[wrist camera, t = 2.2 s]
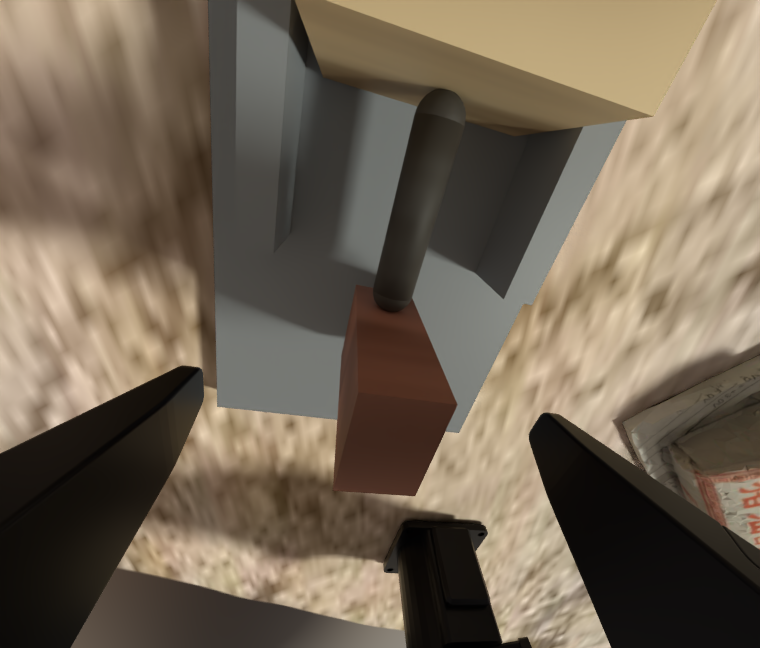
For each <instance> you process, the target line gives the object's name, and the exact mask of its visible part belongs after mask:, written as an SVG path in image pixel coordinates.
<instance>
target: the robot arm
mask: <svg viewBox="0 0 760 648" xmlns="http://www.w3.org/2000/svg"><path fill="white" fill-rule="evenodd" d="M203 398H204V385H203V372H202V369H201V368H199V367H192V366H180V367H177V368H175V369H173V370H171V371H169V372H167V373H165V374H163V375H161V376H159V377H157V378H155V379H152V380H150V381H148V382H146V383H144V384H142V385H140V386H138V387H136V388H134V389H132V390H130V391H128V392H126V393H124V394H122V395H120V396H118V397H115V398H113V399H111V400H109V401H107V402H105V403H103V404H101V405H99V406H97V407H95V408H93V409H91V410H89V411H87V412H85V413H83V414H81V415H78V416H76V417H74V418H72V419H70V420H68V421H66V422H64V423H62V424H60V425H58V426H56V427H54V428H52V429H50V430H48V431H46V432H43V433H41V434H39V435H37V436H35V437H33V438H31V439H29V440H27V441H25V442H23V443H21V444H19V445H17V446H15V447H13V448H11V449H9V450H6V451H4V452H2V453H0V648H71V646H72V644H73V642H74V641H75V639H76V637H77V635H78V634H79V632H80V630H81V628H82V627H83V625H84V623H85V622H86V619H87V618H88V616H89V615H90V613H91V611H92V609H93V608H94V606H95V604H96V602H97V601H98V599H99V597H100V595H101V594H102V592H103V590H104V589H105V587H106V585H107V583H108V582H109V580H110V578H111V576H112V575H113V573H114V571H115V569H116V568H117V566H118V564H119V562H120V561H121V559H122V557H123V556H124V554H125V552H126V550H127V549H128V547H129V545H130V543H131V542H132V540H133V538H134V536H135V535H136V533H137V531H138V529H139V528H140V526H141V524H142V523H143V521H144V519H145V517H146V516H147V514H148V512H149V510H150V509H151V507H152V505H153V503H154V502H155V500H156V498H157V496H158V495H159V493H160V491H161V490H162V488H163V486H164V484H165V483H166V481H167V479H168V477H169V475H170V474H171V472H172V470H173V468H174V466H175V464H176V462H177V460H178V458H179V455H180V453H181V451H182V449H183V446H184V444H185V442H186V439H187V437H188V435H189V433H190V430H191V428H192V426H193V424H194V421H195V419H196V417H197V414H198V412H199V410H200V408H201V405H202V402H203ZM529 442H530V445H531V448H532V451H533V454H534V457H535V460H536V463H537V466H538V469H539V473H540V476H541V479H542V482H543V485H544V488H545V491H546V493H547V496H548V499H549V501H550V504H551V506H552V508H553V511H554V513H555V515H556V518H557V520H558V523H559V525H560V527H561V530H562V532H563V534H564V537H565V539H566V541H567V544H568V546H569V549H570V551H571V553H572V556H573V558H574V560H575V563H576V565H577V568H578V570H579V572H580V575H581V577H582V579H583V582H584V584H585V586H586V589H587V591H588V594H589V596H590V598H591V601H592V603H593V605H594V608H595V610H596V612H597V615H598V617H599V620H600V622H601V624H602V627H603V629H604V631H605V634H606V636H607V638H608V641H609V643H610V646H611V648H760V549H758V548H757V547H755V546H754V545H752V544H751V543H749V542H748V541H746V540H745V539H743V538H742V537H740V536H739V535H737V534H736V533H734V532H733V531H731V530H730V529H728V528H727V527H725V526H723V525H721V524H720V523H719V522H718V521H716V520H715V519H713V518H712V517H710V516H709V515H707V514H706V513H704V512H703V511H702V510H700V509H699V508H697V507H696V506H694V505H693V504H691V503H690V502H688V501H687V500H685V499H684V498H682V497H681V496H679V495H678V494H676V493H675V492H673V491H672V490H670V489H669V488H667V487H666V486H664V485H663V484H662V483H660V482H659V481H657V480H656V479H654V478H653V477H651V476H650V475H648V474H647V473H645V472H644V471H642V470H641V469H639V468H638V467H636V466H635V465H633V464H632V463H630V462H629V461H627V460H626V459H624V458H623V457H621V456H620V455H619V454H617V453H616V452H614V451H613V450H611V449H610V448H608V447H607V446H605V445H604V444H602V443H601V442H599V441H598V440H596V439H595V438H593V437H592V436H590V435H589V434H587V433H586V432H584V431H583V430H581V429H580V428H578V427H577V426H576V425H574V424H573V423H571V422H570V421H568V420H567V419H565V418H564V417H562V416H561V415H559V414H554V413H543V414H541V415H540V417H539V418H538V420H537V421H536V423H535V425H534V426H533V428H532V429H531V431H530V433H529ZM487 534H488V532H487V529H486V527H485V526H484V525H476V524H457V523H437V522H418V521H407V522H404V523H403V524H402V525H401V527H400V529H399V532H398V534H397V536H396V538H395V540H394V542H393V544H392V547H391V549H390V551H389V553H388V555H387V557H386V559H385V562H384V564H383V567H384V572H386V573H398V574H399V583H400V593H401V602H402V611H403V620H404V629H405V639H406V647H407V648H532V647H531V645H530V642H529V640H528V638H527V637H523V638H518V641H514V642H508V643H503V644H501V643H502V639H501V636H500V632H499V629H498V626H497V623H496V620H495V616H494V613H493V610H492V607H491V603H490V597H489V594H488V591H487V587H486V584H485V581H484V578H483V574H482V571H481V568H480V565H479V562H478V558H477V555H476V552H475V551H476V550H477V548H478V547H479V546H480V544H481V543H482V541H483V540H484V539H485V537H486V536H487Z"/></svg>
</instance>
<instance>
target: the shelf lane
mask: <svg viewBox="0 0 760 648" xmlns="http://www.w3.org/2000/svg"><path fill="white" fill-rule="evenodd" d="M208 20H209V64H210V107H211V150H212V194H213V237H214V280H215V323H216V367H217V407H225V408H234V409H244V410H253V411H262V412H271V413H280V414H290V415H299V416H308V417H317V418H326V419H335V420H337V417H338V401H339V385H340V369H341V355H342V350H343V345H344V340H345V335H346V331H347V326H348V321H349V316H350V311H351V307H352V302H353V297H354V292H355V287H356V285H361V286H366V287H371V288H373V287H374V283H375V278H376V274H377V270H378V266H379V262H380V257H381V253H382V249H383V245H384V241H385V236H386V232H387V228H388V224H389V219H390V215H391V211H392V207H393V203H394V198H395V194H396V190H397V186H398V182H399V177H400V173H401V169H402V165H403V161H404V156H405V152H406V148H407V144H408V140H409V135H410V131H411V127H412V123H413V119H414V114H415V111H416V108H417V106H414V105H411V104H408V103H405V102H401V101H398V100H395V99H392V98H388V97H385V96H382V95H379V94H375V93H372V92H369V91H366V90H362V89H359V88H356V87H353V86H349V85H346V84H343V83H340V82H336V81H333V80H330V79H327V78H323V76H322V73H321V70H320V67H319V65H318V62H317V59H316V57H315V54H314V51H313V48H312V46H311V43H310V40H309V38H308V35H307V32H306V29H305V27H304V24H303V21H302V19H301V16H300V13H299V10H298V8H297V5H296V2H295V0H208ZM625 122H626V120H625V121H618V122H611V123H604V124H597V125H590V126H583V127H577V128H570V129H563V130H556V131H549V132H542V133H535V134H528V135H521V136H512V135H508V134H505V133H502V132H499V131H495V130H492V129H489V128H486V127H482V126H479V125H476V124H473V123H469V122H466V121H465V126H464V130H463V133H462V136H461V140H460V143H459V146H458V149H457V153H456V156H455V159H454V162H453V166H452V169H451V172H450V176H449V179H448V182H447V185H446V189H445V192H444V195H443V198H442V202H441V205H440V208H439V211H438V215H437V218H436V221H435V224H434V228H433V231H432V234H431V237H430V241H429V244H428V247H427V250H426V254H425V257H424V260H423V264H422V267H421V270H420V273H419V277H418V280H417V283H416V286H415V290H414V293H413V296H412V299H413V301H414V303H415V306H416V308H417V310H418V313H419V315H420V317H421V320H422V322H423V324H424V327H425V329H426V331H427V334H428V336H429V339H430V341H431V343H432V346H433V348H434V350H435V353H436V355H437V357H438V360H439V362H440V364H441V367H442V369H443V371H444V374H445V376H446V379H447V381H448V383H449V386H450V388H451V390H452V393H453V395H454V397H455V400H456V402H457V404H458V405H457V407H456V410H455V412H454V414H453V416H452V418H451V420H450V422H449V425H448V427H447V429H446V432H455V433H459V431H460V429H461V427H462V425H463V423H464V421H465V419H466V417H467V415H468V413H469V411H470V409H471V407H472V405H473V403H474V401H475V399H476V397H477V395H478V393H479V391H480V389H481V387H482V385H483V383H484V381H485V379H486V377H487V375H488V373H489V371H490V369H491V367H492V365H493V363H494V361H495V359H496V357H497V355H498V353H499V351H500V349H501V347H502V345H503V343H504V341H505V339H506V337H507V335H508V333H509V331H510V329H511V327H512V325H513V323H514V321H515V319H516V317H517V315H518V313H519V311H520V309H521V307H522V305H523V304H528V305H532V304H533V302H534V300H535V298H536V296H537V294H538V292H539V290H540V288H541V286H542V284H543V282H544V280H545V278H546V276H547V274H548V272H549V270H550V268H551V267H552V265H553V263H554V261H555V259H556V257H557V255H558V253H559V251H560V249H561V247H562V245H563V243H564V241H565V239H566V237H567V235H568V233H569V231H570V230H571V228H572V226H573V224H574V222H575V220H576V218H577V216H578V214H579V212H580V210H581V208H582V206H583V204H584V202H585V200H586V198H587V196H588V194H589V193H590V191H591V189H592V187H593V185H594V183H595V181H596V179H597V177H598V175H599V173H600V171H601V169H602V167H603V165H604V163H605V161H606V159H607V157H608V156H609V154H610V152H611V150H612V148H613V146H614V144H615V142H616V140H617V138H618V136H619V134H620V132H621V130H622V128H623V126H624V124H625Z"/></svg>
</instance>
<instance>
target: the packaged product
mask: <svg viewBox="0 0 760 648" xmlns="http://www.w3.org/2000/svg"><path fill="white" fill-rule="evenodd" d="M622 423H623V426H624V428H625V431H626V433H627V436H628V438H629V440H630V442H631V444H632V446H633V449H634V451H635V453H636V455H637V457H638V459H639V460H640V462H641V463H642V465H643V466H644V468H645V470H646V473H647V474H648V475H650V476H651V477H653V478H654V479H656V480H657V481H659V482H660V483H662V484H663V485H664V486H666V487H667V488H669V489H670V490H672V491H673V492H675V493H676V494H678V495H679V496H681V497H682V498H684V499H685V500H687V501H688V502H690V503H691V504H693V505H694V506H696V507H697V508H699V509H700V510H702V511H703V512H704V513H706V514H707V515H709V516H710V517H712V518H713V519H715V520H716V521H718V522H719V523H720V524H721V525H723V526H725V527H727V528H728V529H730V530H731V531H733V532H734V533H736V534H737V535H739V536H740V537H742V538H743V539H745V540H746V541H748V542H749V543H751V544H752V545H754V546H755V547H757V548H758V549H760V355H759V356H757V357H754V358H752V359H750V360H748V361H746V362H744V363H742V364H740V365H738V366H736V367H734V368H732V369H730V370H728V371H725V372H723V373H721V374H719V375H717V376H715V377H713V378H710V379H708V380H706V381H704V382H702V383H700V384H698V385H696V386H694V387H692V388H690V389H688V390H686V391H684V392H682V393H680V394H678V395H676V396H674V397H672V398H671V399H669V400H667V401H665V402H663V403H661V404H659V405H656V406H653V407H651V408H648V409H646V410H644V411H642V412H640V413H639V414H637V415H635V416H633V417H631V418H630V419H628V420H626V421H624V422H622Z"/></svg>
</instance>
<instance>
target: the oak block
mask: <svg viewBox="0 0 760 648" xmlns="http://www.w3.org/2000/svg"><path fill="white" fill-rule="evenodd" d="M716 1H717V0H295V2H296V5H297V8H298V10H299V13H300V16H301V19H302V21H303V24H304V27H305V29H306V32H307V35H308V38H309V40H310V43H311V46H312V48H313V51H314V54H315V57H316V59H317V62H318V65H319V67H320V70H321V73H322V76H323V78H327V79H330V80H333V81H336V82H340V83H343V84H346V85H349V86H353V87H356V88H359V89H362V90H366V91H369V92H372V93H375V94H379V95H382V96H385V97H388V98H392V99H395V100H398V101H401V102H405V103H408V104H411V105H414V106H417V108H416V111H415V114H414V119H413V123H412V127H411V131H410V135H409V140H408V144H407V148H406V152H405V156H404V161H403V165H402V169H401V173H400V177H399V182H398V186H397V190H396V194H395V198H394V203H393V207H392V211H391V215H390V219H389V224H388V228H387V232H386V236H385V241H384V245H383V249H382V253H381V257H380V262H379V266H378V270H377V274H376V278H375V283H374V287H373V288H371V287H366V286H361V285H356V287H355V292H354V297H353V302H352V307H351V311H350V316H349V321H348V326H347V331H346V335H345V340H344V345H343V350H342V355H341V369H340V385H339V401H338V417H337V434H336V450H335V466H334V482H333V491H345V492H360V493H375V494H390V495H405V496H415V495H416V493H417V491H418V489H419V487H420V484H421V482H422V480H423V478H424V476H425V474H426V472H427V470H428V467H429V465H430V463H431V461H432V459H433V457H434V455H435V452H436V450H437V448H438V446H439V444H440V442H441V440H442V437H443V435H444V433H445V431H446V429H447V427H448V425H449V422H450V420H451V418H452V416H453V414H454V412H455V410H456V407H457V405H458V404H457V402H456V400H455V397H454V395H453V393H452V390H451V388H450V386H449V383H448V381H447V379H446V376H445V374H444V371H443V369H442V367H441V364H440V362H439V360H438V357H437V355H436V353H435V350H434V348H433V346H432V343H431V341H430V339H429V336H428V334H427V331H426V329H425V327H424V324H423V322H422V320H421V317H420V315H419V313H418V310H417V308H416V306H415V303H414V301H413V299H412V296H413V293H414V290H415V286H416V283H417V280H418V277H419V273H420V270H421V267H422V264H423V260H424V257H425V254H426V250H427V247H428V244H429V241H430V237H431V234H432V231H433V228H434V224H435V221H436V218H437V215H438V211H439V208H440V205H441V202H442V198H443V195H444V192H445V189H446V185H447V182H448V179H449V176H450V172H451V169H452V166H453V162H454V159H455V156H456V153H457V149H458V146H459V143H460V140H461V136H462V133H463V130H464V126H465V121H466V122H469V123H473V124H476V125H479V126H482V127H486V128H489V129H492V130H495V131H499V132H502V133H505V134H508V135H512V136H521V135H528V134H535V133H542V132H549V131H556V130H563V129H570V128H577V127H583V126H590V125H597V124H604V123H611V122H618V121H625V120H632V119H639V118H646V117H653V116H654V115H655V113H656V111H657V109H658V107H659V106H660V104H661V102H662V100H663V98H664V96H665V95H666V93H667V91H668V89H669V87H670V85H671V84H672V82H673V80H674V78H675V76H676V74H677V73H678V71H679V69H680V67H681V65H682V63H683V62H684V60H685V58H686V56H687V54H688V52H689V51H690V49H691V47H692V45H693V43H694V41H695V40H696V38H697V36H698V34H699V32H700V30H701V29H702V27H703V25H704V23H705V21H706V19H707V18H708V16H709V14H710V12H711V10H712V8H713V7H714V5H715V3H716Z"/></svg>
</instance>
